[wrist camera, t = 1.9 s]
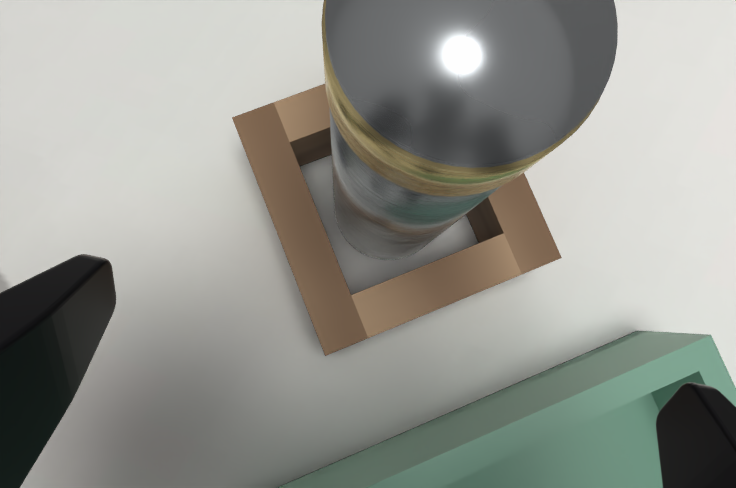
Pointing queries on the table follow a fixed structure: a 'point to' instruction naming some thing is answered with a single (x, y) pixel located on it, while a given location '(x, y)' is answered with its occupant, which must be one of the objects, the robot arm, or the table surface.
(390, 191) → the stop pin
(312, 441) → the table surface
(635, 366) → the parts tray
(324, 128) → the socket block
